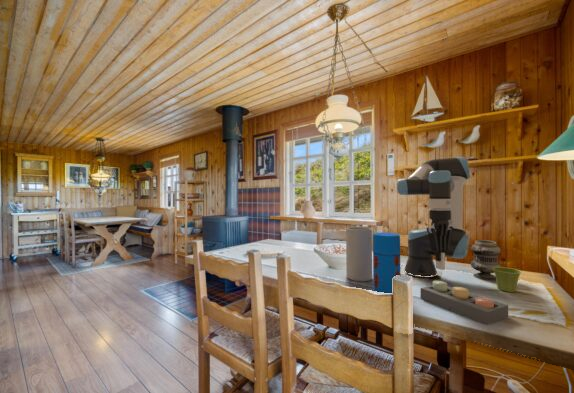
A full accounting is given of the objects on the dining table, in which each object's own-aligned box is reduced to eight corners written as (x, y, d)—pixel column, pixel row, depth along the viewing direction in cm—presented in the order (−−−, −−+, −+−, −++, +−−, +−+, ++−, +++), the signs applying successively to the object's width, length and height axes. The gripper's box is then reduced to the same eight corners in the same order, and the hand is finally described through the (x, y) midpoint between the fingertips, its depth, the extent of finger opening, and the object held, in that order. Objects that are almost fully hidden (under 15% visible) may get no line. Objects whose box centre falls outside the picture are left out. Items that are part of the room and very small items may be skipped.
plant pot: (527, 294, 106) (526, 273, 106) (500, 293, 108) (500, 272, 108) (512, 286, 115) (511, 267, 115) (488, 285, 117) (488, 266, 117)
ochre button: (449, 298, 97) (449, 288, 97) (457, 296, 99) (457, 286, 99) (463, 303, 92) (463, 292, 92) (471, 301, 94) (471, 290, 94)
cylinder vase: (361, 273, 138) (361, 226, 138) (377, 280, 126) (377, 229, 126) (341, 275, 134) (341, 227, 134) (356, 283, 122) (355, 230, 122)
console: (420, 297, 104) (420, 288, 104) (440, 293, 109) (440, 283, 109) (487, 324, 82) (487, 312, 82) (508, 317, 87) (508, 305, 87)
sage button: (429, 291, 104) (429, 281, 104) (438, 289, 106) (438, 279, 106) (441, 295, 99) (441, 285, 99) (450, 293, 101) (450, 283, 101)
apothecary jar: (480, 280, 124) (479, 243, 124) (465, 273, 136) (465, 239, 136) (507, 281, 122) (507, 243, 122) (490, 273, 134) (490, 239, 134)
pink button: (472, 310, 89) (472, 299, 89) (480, 307, 91) (480, 296, 91) (488, 316, 85) (488, 304, 85) (497, 313, 87) (497, 301, 87)
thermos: (368, 290, 113) (367, 233, 113) (387, 286, 117) (386, 231, 117) (386, 299, 103) (385, 236, 103) (406, 295, 107) (405, 235, 107)
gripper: (438, 210, 96) (438, 273, 96) (459, 209, 102) (460, 269, 102) (420, 209, 103) (420, 268, 103) (441, 208, 109) (442, 264, 109)
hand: (440, 268), depth 103 cm, fingers closed
